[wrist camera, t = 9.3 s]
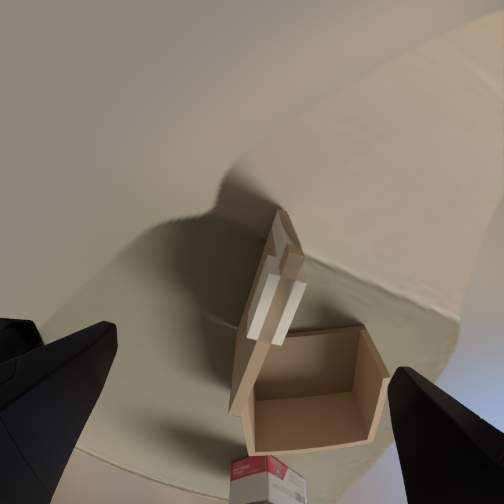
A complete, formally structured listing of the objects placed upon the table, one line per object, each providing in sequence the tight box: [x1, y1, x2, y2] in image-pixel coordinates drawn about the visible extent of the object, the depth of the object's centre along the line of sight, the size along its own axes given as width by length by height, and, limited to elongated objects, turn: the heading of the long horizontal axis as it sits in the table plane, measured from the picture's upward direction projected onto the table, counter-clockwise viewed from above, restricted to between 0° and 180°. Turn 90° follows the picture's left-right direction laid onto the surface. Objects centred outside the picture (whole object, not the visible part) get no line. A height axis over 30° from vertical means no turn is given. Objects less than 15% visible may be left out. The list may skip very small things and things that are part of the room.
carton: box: [241, 325, 391, 456], centre depth 20 cm, size 9×7×6 cm
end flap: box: [228, 208, 307, 417], centre depth 17 cm, size 9×2×8 cm, turn 164°
